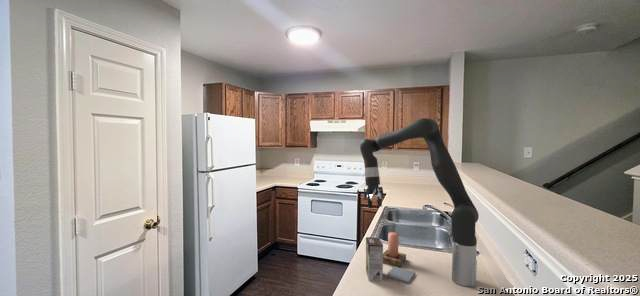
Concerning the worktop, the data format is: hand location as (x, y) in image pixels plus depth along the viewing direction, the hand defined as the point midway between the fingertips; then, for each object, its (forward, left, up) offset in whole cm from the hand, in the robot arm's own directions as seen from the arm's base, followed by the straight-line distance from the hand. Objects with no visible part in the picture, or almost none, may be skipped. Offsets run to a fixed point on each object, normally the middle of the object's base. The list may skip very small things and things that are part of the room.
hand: (375, 207), depth 144 cm
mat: (-18, +12, -26) cm, 34 cm away
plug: (-10, 0, -26) cm, 28 cm away
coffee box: (-8, +19, -26) cm, 33 cm away
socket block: (-10, 0, -26) cm, 28 cm away
